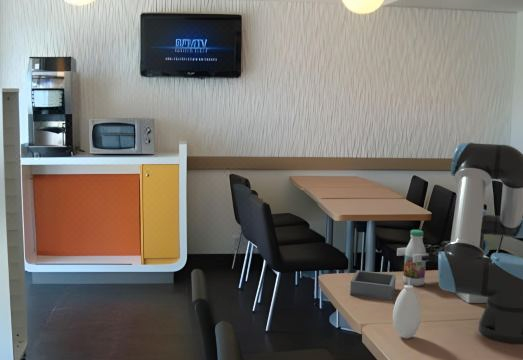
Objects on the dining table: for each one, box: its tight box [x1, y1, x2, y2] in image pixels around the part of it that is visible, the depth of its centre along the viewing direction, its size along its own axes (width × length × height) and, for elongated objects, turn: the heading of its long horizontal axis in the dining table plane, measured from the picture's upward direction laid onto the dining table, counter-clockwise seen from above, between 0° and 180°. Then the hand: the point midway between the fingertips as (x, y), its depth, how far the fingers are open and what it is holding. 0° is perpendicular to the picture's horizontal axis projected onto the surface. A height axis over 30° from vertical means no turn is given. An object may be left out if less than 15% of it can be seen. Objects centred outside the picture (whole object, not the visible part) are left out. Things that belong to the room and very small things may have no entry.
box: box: [349, 269, 397, 301], centre depth 209 cm, size 14×14×5 cm
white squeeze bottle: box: [392, 277, 422, 339], centre depth 169 cm, size 8×8×18 cm
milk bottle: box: [402, 229, 427, 287], centre depth 220 cm, size 8×8×20 cm
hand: (405, 255), depth 217 cm, fingers open, 9 cm apart
